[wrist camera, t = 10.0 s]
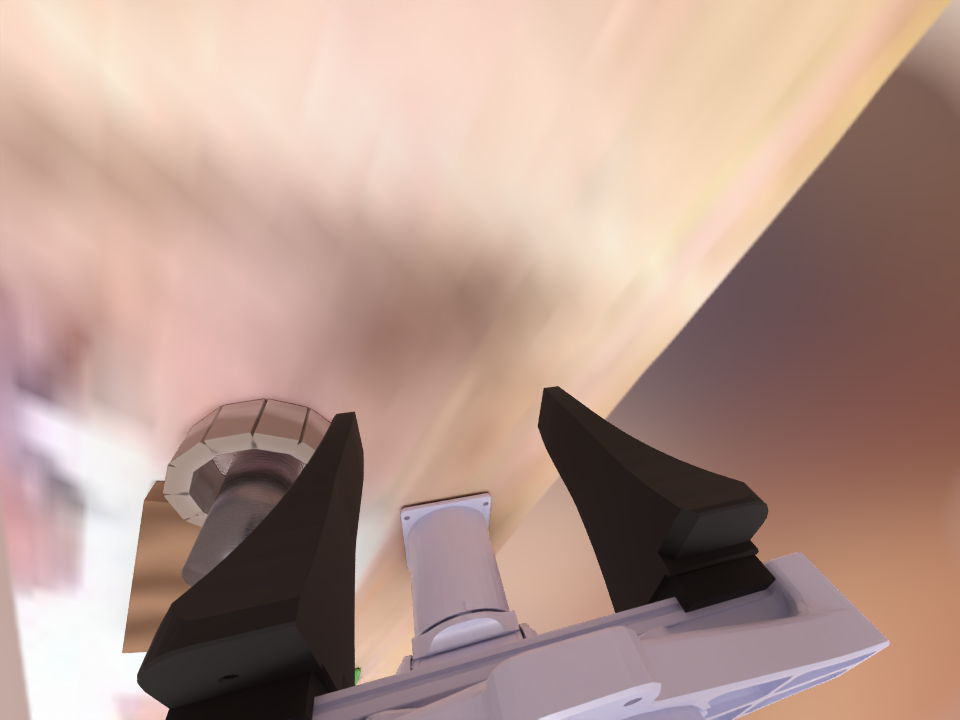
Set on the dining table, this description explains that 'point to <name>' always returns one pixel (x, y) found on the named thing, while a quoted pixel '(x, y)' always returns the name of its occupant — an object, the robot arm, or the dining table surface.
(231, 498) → the hinge pin
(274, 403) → the brown piece
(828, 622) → the robot arm
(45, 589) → the dining table surface
